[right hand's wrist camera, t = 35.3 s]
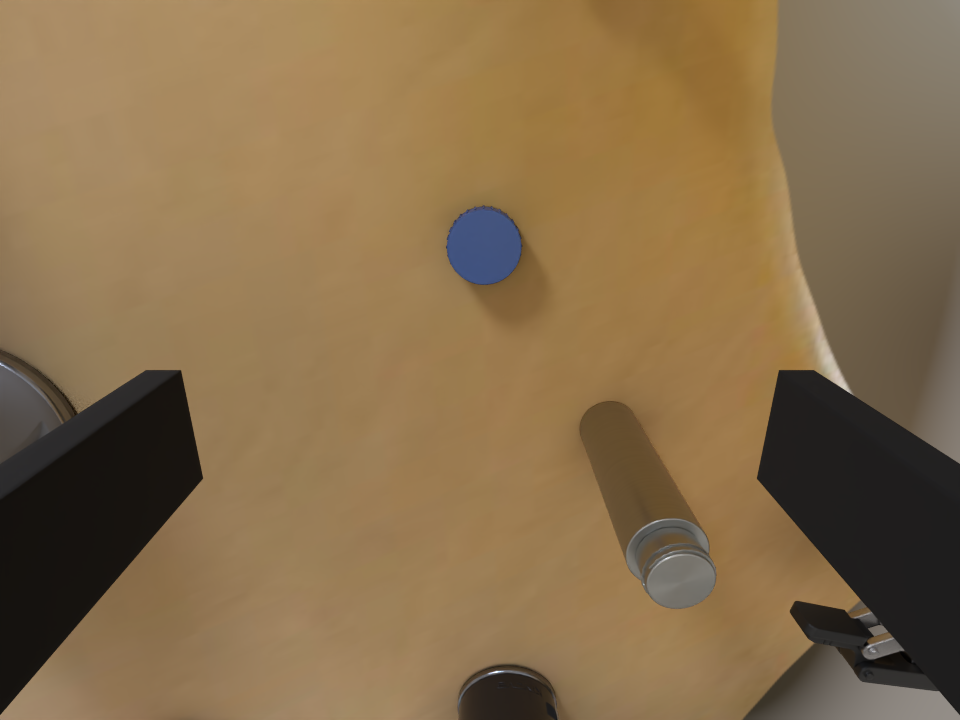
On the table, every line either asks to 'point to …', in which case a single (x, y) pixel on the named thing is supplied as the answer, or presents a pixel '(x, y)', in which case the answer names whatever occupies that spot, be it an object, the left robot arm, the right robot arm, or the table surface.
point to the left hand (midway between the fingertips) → (830, 563)
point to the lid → (484, 245)
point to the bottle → (647, 509)
